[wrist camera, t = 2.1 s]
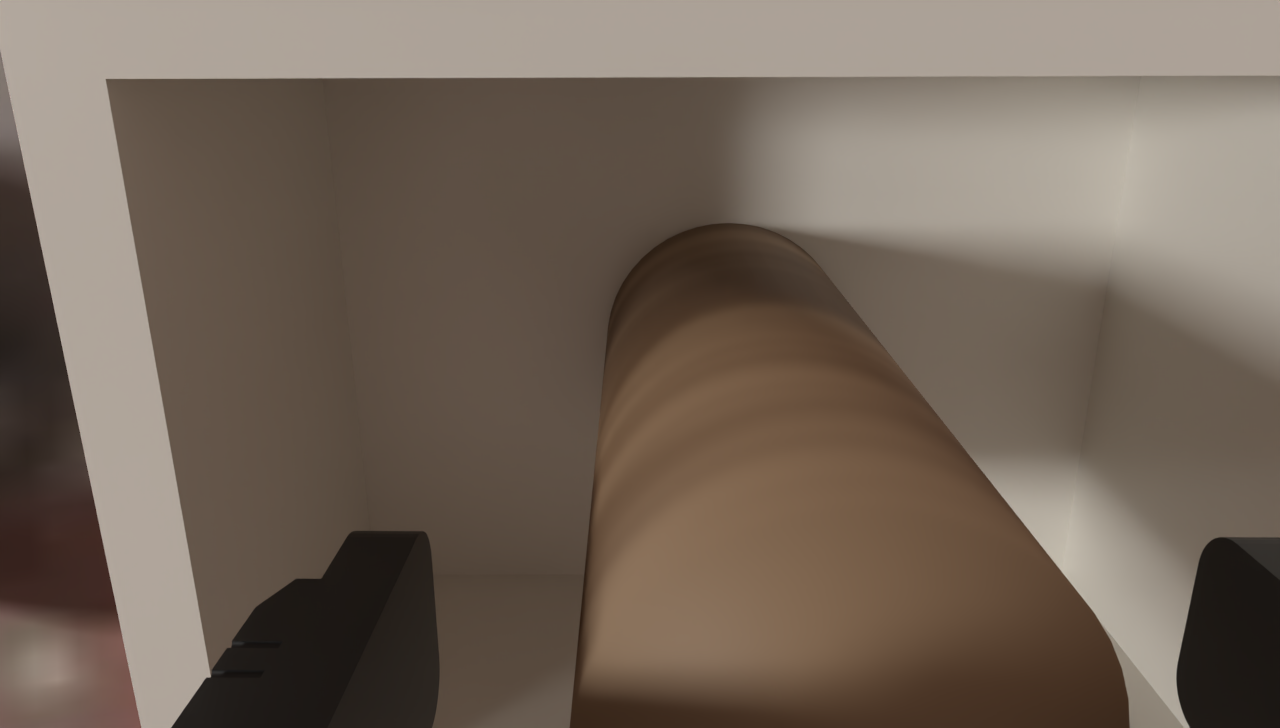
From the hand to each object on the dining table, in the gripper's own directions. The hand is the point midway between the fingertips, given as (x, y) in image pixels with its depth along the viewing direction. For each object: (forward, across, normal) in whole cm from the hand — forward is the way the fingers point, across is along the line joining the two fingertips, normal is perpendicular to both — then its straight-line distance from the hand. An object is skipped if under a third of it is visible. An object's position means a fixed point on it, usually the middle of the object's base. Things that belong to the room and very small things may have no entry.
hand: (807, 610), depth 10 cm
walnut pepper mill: (+8, 0, 0) cm, 9 cm away
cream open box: (+10, 0, 0) cm, 10 cm away
